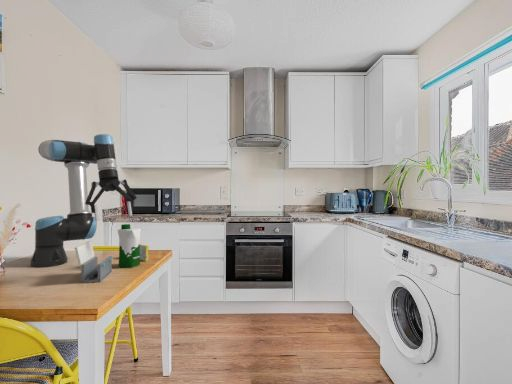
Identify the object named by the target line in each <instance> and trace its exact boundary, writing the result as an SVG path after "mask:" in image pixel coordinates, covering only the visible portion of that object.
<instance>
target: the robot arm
mask: <svg viewBox="0 0 512 384" xmlns="http://www.w3.org/2000/svg"><path fill="white" fill-rule="evenodd" d="M93 143H94V144H88V143H86V142H81V141H73V140H72V141H71V140H70V141H68V140H62V139H49V140H44V141H42V142H41V143H40V144H39V146H38V149H37V150H38V153H39V155H40V156H41V157H42V158H43V159H45V160H48V161H51V162H58V163H63V164H64V165H63V166H64V168H66V169H67V173H68V174H67V176H68V177H67V178H68V194H69V196H68V197H69V213H68V214H67V215H66V218H65V217H64V216H63V215H54V216H47V217H42V218H41V217H40V218H38V219H37V220H36V221H35V225H34V226H35V228H34V230H35V235H34V236H35V237H34V238H35V239H34V240H35V241H34V244H35V247H34V248H35V249H34V252H33V254H32V256H31V260H30V267H33V268H47V267H55V266H59V265H63V264H66V263H67V262H68V256H67V254H66V250H65V246H64V242H69V241H79V240H82V241H84V240H89V239H93V237H95V235H96V231H97V225H98V221H99V220H100V219H99V213H98V212H99V211H98V206H97V204H96V203H97V202H98V200H99V199H100V198H101V196H102V195H103V194H104V192H115V191H116V192H117V193H118V194H119V195H121V196H122V197H123V198H125V199H126V200H127V202H126V206H127V213H128V217H131V216H132V217H133V211H132V209H134V203H133V202H134V200H136V199H137V196H136V195H135V193H134V192H133V190H132V189H131V187H130V186H129V184H128V182H127V179H123V180H120V179H119V173H118V168H117V167H118V166H117V158H116V153H115V151H116V150H115V142H114V138H113V136H112V135H111V134H107V133H101V134H100V133H99V134H96V135H94V136H93ZM90 164H93V165H96V167H97V170H98V181H99V182H98V181H92V182H91V185H90V186H91V187H90V190H89V193H88V182H87V180H88V179H87V169H88V167H89V166H90ZM120 185H121V186H123V188H124V189H125V190H123V189H122V188H121V187H120ZM98 186H99V187H100V190H99V191H98V193H97V194H96V195H95V197H94V198H93V200H92V197H93V195H94V193H95V191H96V188H97V187H98ZM125 191H126V192H127V193H126V192H125ZM91 200H92V201H91ZM89 206H90V210H89ZM93 214H94V216H93Z"/></svg>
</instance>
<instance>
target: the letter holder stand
mask: <svg viewBox="0 0 512 384" xmlns="http://www.w3.org/2000/svg"><path fill="white" fill-rule="evenodd" d="M112 261H113V256H112V255H108V257H106V258H105V259H103V260H102V261H100V262H99V263H98V256H94V257H92V258H91V259H89V260H88V261H86V262H84V263H83V264H81V266H80V267H81V269H80V270H81V273H80V274H81V277H80V279H81V284H84V283H85V284H86V283H87V284H88V283H101V282H102V281H103V280H104V279H105V278H106V277H108V276H109V275H110V274H111V273H112V269H113V267H112V266H113V262H112Z"/></svg>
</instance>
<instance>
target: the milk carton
mask: <svg viewBox="0 0 512 384" xmlns="http://www.w3.org/2000/svg"><path fill="white" fill-rule="evenodd" d="M141 232H142V228H137V227H131V224H127V223H124V224H123V223H122V224H121V225H120V228H119V229H117V233H118V238H119V239H118V241H119V242H118V243H119V244H118V248H119V249H118V250H119V252H118V255H119V256H118V268H128V269H129V268H131V269H132V268H134V267H137V266H139V265H141V261H140V243H141Z"/></svg>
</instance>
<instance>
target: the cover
mask: <svg viewBox="0 0 512 384" xmlns="http://www.w3.org/2000/svg"><path fill="white" fill-rule="evenodd" d="M74 251H75V255H76V259H77V263H78V265H79V266H80V265H82V264H84V263H86V262H87V261H89V260H90V259H92V258H94V257H96V256H95V252H94V251H95V250H94V248H93V243H92V240H89V241H87V242H84V243H82V244H80V245H78V246H76V247H74Z"/></svg>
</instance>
